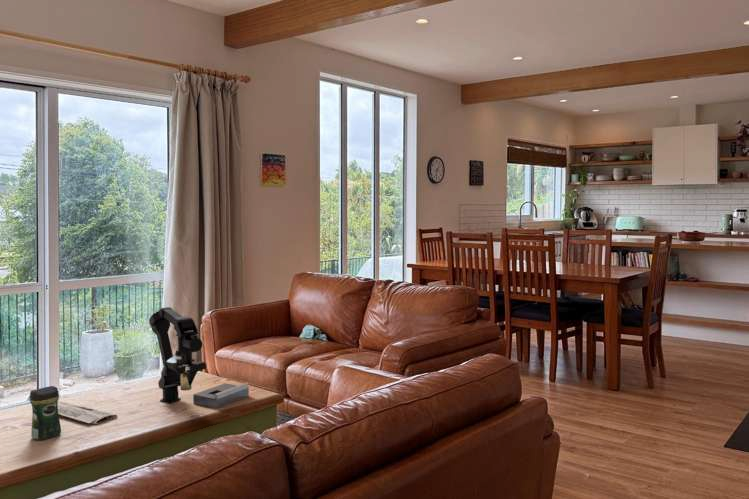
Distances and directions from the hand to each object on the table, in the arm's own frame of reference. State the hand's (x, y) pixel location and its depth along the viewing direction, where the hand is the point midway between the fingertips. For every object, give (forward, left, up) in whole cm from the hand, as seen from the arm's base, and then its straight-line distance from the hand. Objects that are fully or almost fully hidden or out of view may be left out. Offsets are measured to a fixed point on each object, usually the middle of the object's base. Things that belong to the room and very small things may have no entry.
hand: (186, 384), depth 271 cm
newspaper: (-34, -28, -12) cm, 46 cm away
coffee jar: (-22, -49, -11) cm, 55 cm away
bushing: (0, 0, -2) cm, 2 cm away
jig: (+4, +17, -11) cm, 20 cm away
